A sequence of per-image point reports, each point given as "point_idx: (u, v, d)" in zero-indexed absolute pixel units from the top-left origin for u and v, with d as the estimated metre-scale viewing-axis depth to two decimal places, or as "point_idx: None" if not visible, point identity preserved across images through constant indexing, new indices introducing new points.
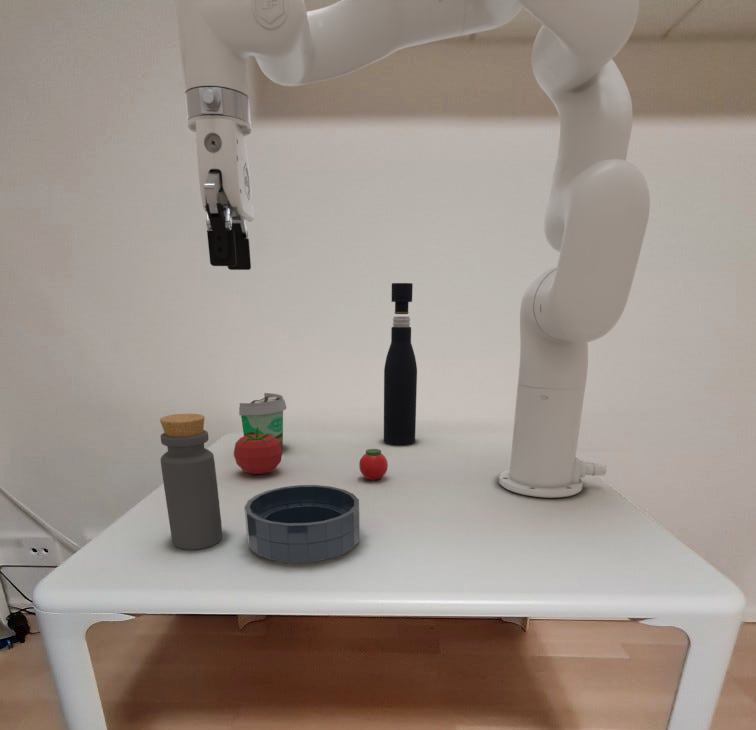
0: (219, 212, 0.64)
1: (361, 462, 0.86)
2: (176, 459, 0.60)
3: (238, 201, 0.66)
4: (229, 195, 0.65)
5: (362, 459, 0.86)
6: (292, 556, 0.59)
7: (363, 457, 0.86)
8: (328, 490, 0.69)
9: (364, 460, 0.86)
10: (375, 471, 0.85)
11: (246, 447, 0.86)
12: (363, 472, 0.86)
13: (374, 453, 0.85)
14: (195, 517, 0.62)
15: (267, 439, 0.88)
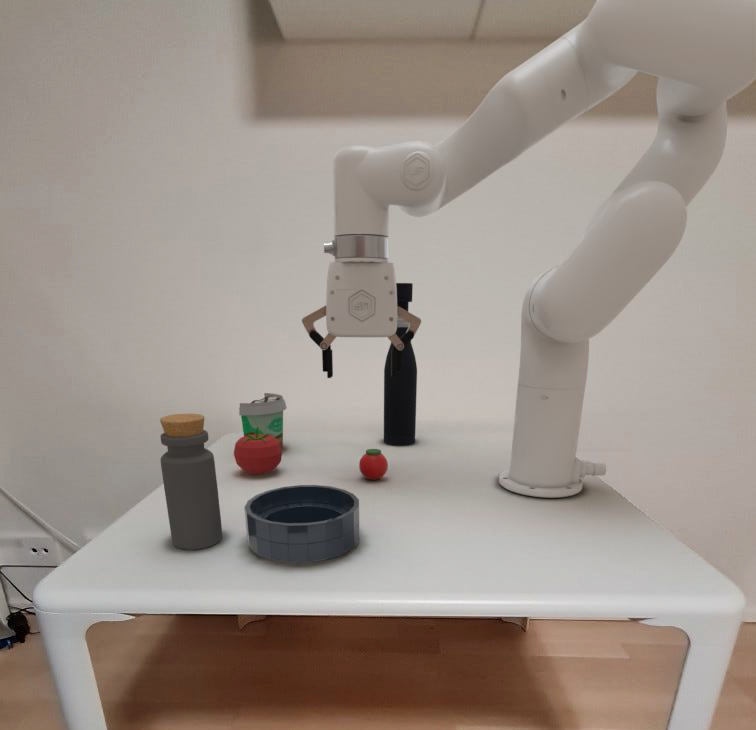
0: None
1: (361, 462, 0.86)
2: (176, 459, 0.60)
3: (328, 327, 0.77)
4: (326, 323, 0.78)
5: (362, 459, 0.86)
6: (292, 556, 0.59)
7: (363, 457, 0.86)
8: (328, 490, 0.69)
9: (364, 460, 0.86)
10: (375, 471, 0.85)
11: (246, 447, 0.86)
12: (363, 472, 0.86)
13: (374, 453, 0.85)
14: (195, 517, 0.62)
15: (267, 439, 0.88)
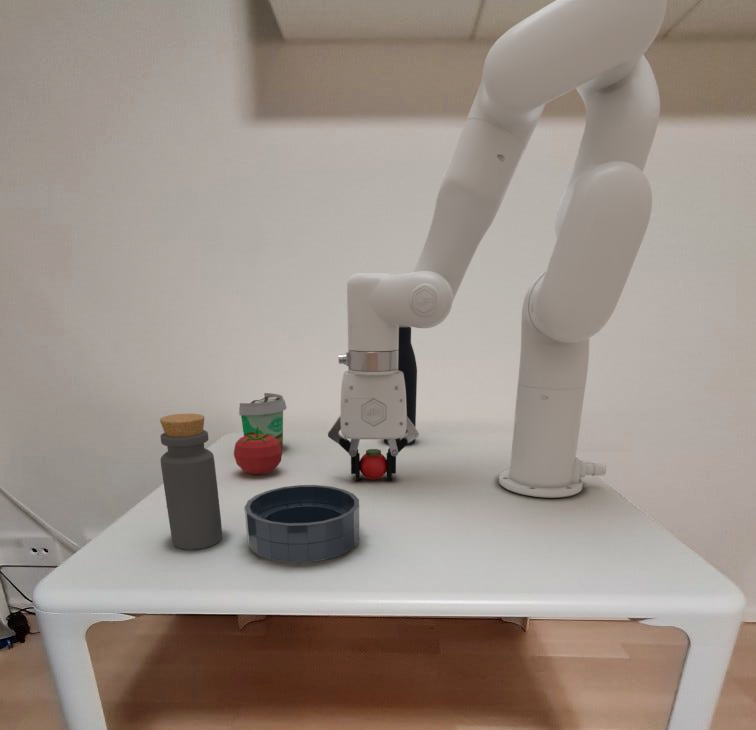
0: None
1: (361, 462, 0.86)
2: (176, 459, 0.60)
3: (342, 431, 0.83)
4: None
5: (362, 459, 0.86)
6: (292, 556, 0.59)
7: (363, 457, 0.86)
8: (328, 490, 0.69)
9: (364, 460, 0.86)
10: (375, 471, 0.85)
11: (246, 447, 0.86)
12: (363, 472, 0.86)
13: (374, 453, 0.85)
14: (195, 517, 0.62)
15: (267, 439, 0.88)
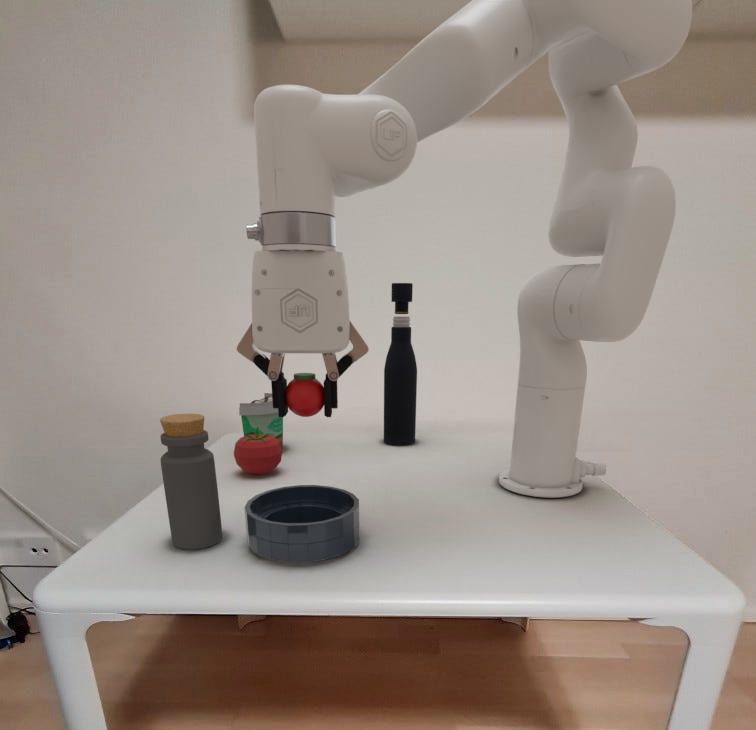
0: (255, 364, 0.59)
1: (286, 390, 0.60)
2: (176, 459, 0.60)
3: (254, 340, 0.57)
4: None
5: (288, 386, 0.60)
6: (292, 556, 0.59)
7: (289, 383, 0.60)
8: (328, 490, 0.69)
9: (290, 386, 0.60)
10: (305, 402, 0.59)
11: (246, 447, 0.86)
12: (289, 404, 0.60)
13: (304, 376, 0.59)
14: (195, 517, 0.62)
15: (267, 439, 0.88)
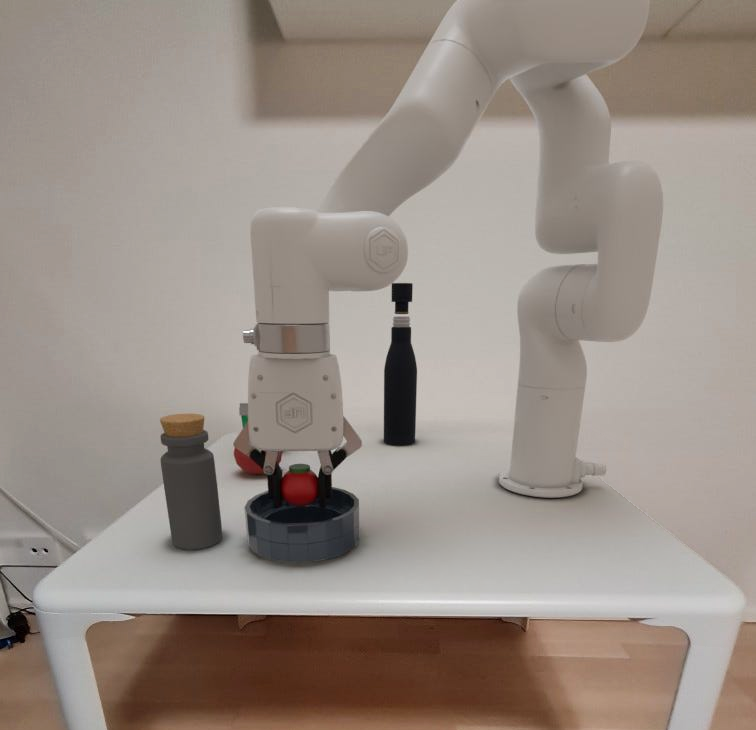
0: (252, 459, 0.61)
1: (282, 482, 0.62)
2: (176, 459, 0.60)
3: (250, 439, 0.58)
4: None
5: (283, 478, 0.62)
6: (292, 556, 0.59)
7: (285, 475, 0.62)
8: None
9: (286, 479, 0.61)
10: (300, 495, 0.61)
11: None
12: (285, 496, 0.62)
13: (299, 470, 0.61)
14: (195, 517, 0.62)
15: None
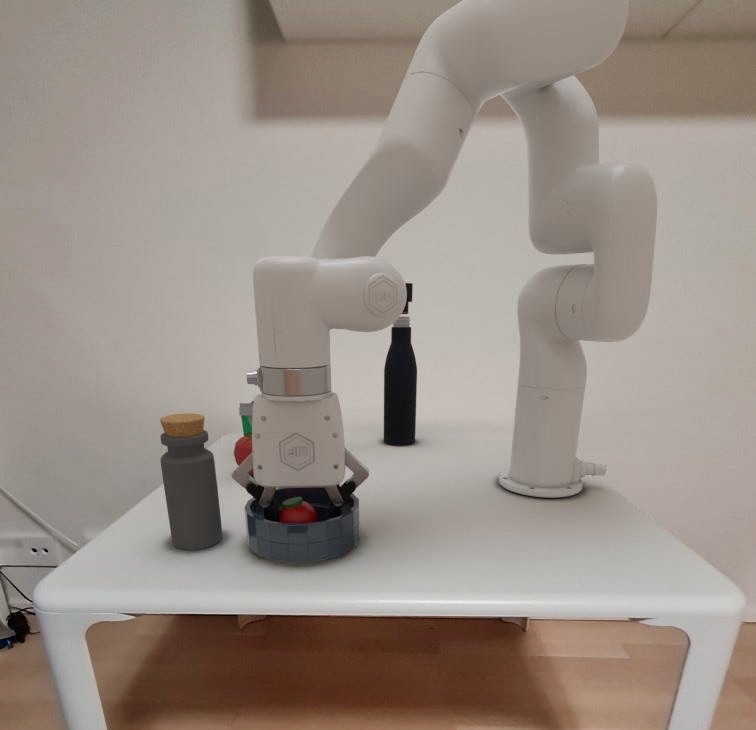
0: (248, 492, 0.62)
1: (279, 520, 0.63)
2: (176, 459, 0.60)
3: (255, 477, 0.60)
4: None
5: (279, 516, 0.63)
6: (292, 556, 0.59)
7: (280, 513, 0.63)
8: None
9: (281, 516, 0.63)
10: None
11: (246, 447, 0.86)
12: None
13: (292, 504, 0.63)
14: (195, 517, 0.62)
15: None
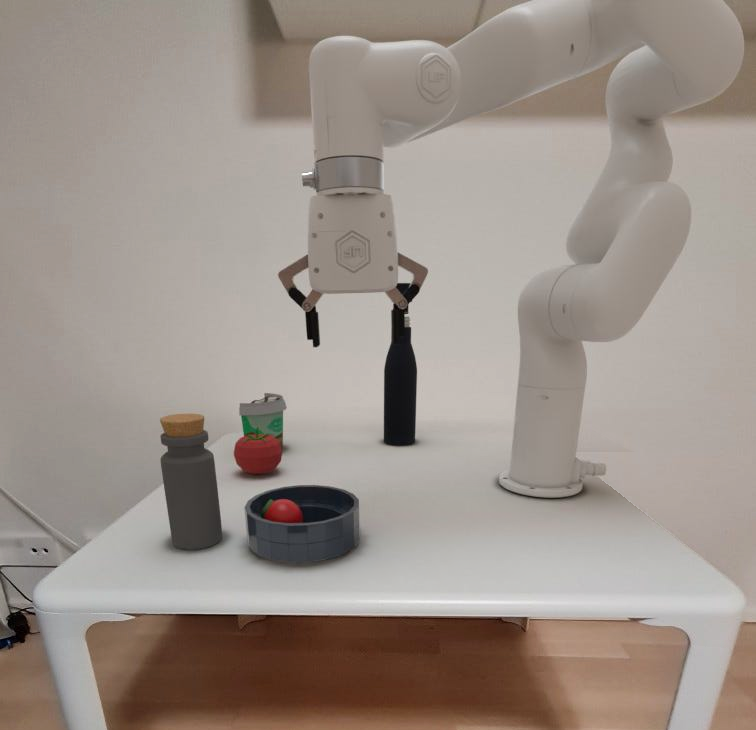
0: None
1: None
2: (176, 459, 0.60)
3: (311, 282, 0.61)
4: None
5: None
6: (292, 556, 0.59)
7: None
8: (328, 490, 0.69)
9: None
10: (281, 521, 0.62)
11: (246, 447, 0.86)
12: None
13: (264, 509, 0.64)
14: (195, 517, 0.62)
15: (267, 439, 0.88)
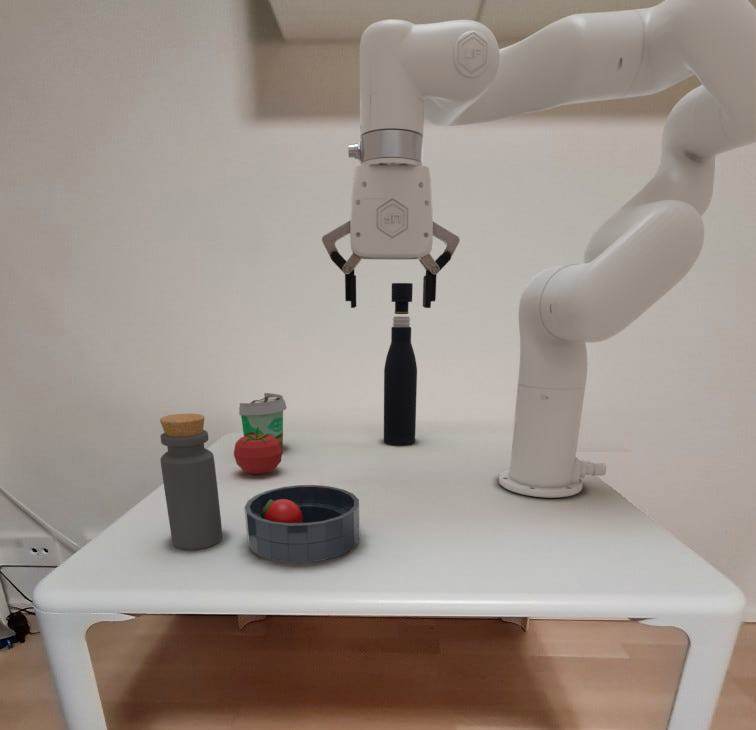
0: (332, 260, 0.69)
1: None
2: (176, 459, 0.60)
3: (352, 245, 0.66)
4: (350, 241, 0.67)
5: None
6: (292, 556, 0.59)
7: None
8: (328, 490, 0.69)
9: None
10: (281, 521, 0.62)
11: (246, 447, 0.86)
12: None
13: (264, 509, 0.64)
14: (195, 517, 0.62)
15: (267, 439, 0.88)
